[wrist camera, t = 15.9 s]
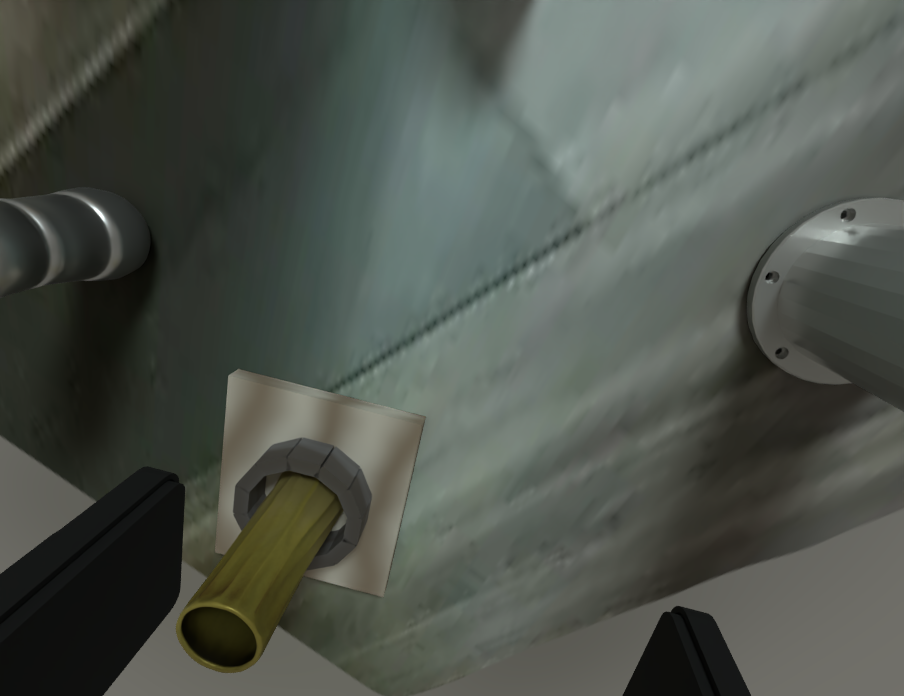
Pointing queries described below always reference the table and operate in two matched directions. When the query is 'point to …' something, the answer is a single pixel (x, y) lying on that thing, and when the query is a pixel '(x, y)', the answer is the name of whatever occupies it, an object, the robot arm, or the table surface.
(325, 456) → the plate
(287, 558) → the vase
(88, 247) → the plastic bottle
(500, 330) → the table surface
